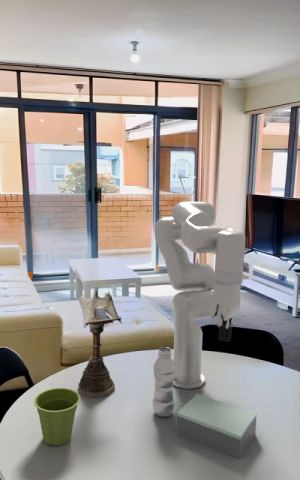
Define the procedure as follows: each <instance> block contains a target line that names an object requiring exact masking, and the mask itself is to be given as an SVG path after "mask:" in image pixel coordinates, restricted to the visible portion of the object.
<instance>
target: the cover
mask: <svg viewBox="0 0 300 480" xmlns="http://www.w3.org/2000/svg"><path fill="white" fill-rule="evenodd" d="M193 396H194V397H192V398H191V399H189V401H188V402H187V403H186V404H185V405H184V406H183V407H181V408H180V409H179V411H178V412H177V414H176V415H177V416H179V417H181V418H184V419H186V420H189V421H192V422H194V423H197V424H200V425H202V426H205V427H208V428H210V429H213V430H215V431H218V432H221V433H223V434H226V435H229V436H231V437H234V438H236V439H239V440H240V439H241V438H242V437H243V435H244V434H245V432H246V431H247V430H248V428H249V427H250V425H251V424H252V423H253V421H254V420H255V418H256V419H257V415H258V413H256V412H253V411H249V410H247V409H243V408H241V407H237V406H234V405H232V404H229V403H226V402H223V401H220V400H218V399H214V398H212V397H208V396H205V395H202V394H199V393H196V394H195V395H193ZM177 416H176V417H177Z"/></svg>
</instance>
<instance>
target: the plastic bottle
mask: <svg viewBox="0 0 300 480" xmlns="http://www.w3.org/2000/svg"><path fill="white" fill-rule="evenodd" d="M157 356H158V357H157V358H156V359H155V361H154V363H153V374H154V375H153V376H154V393H153V395H154V396H153V398H152V399H153V400H152V410H153V412H154V413H155V415H156V416H159V417H161V418H162V417H163V418H167V417H170V416H171V415H172V414H173V413H174V412H175V400H174V385H173V379H174V374H175V364H174V362H173V359H172V358H171V357H172V349H171V348H170V347H167V346H161V347H160V348H159V349H158V354H157Z"/></svg>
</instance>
